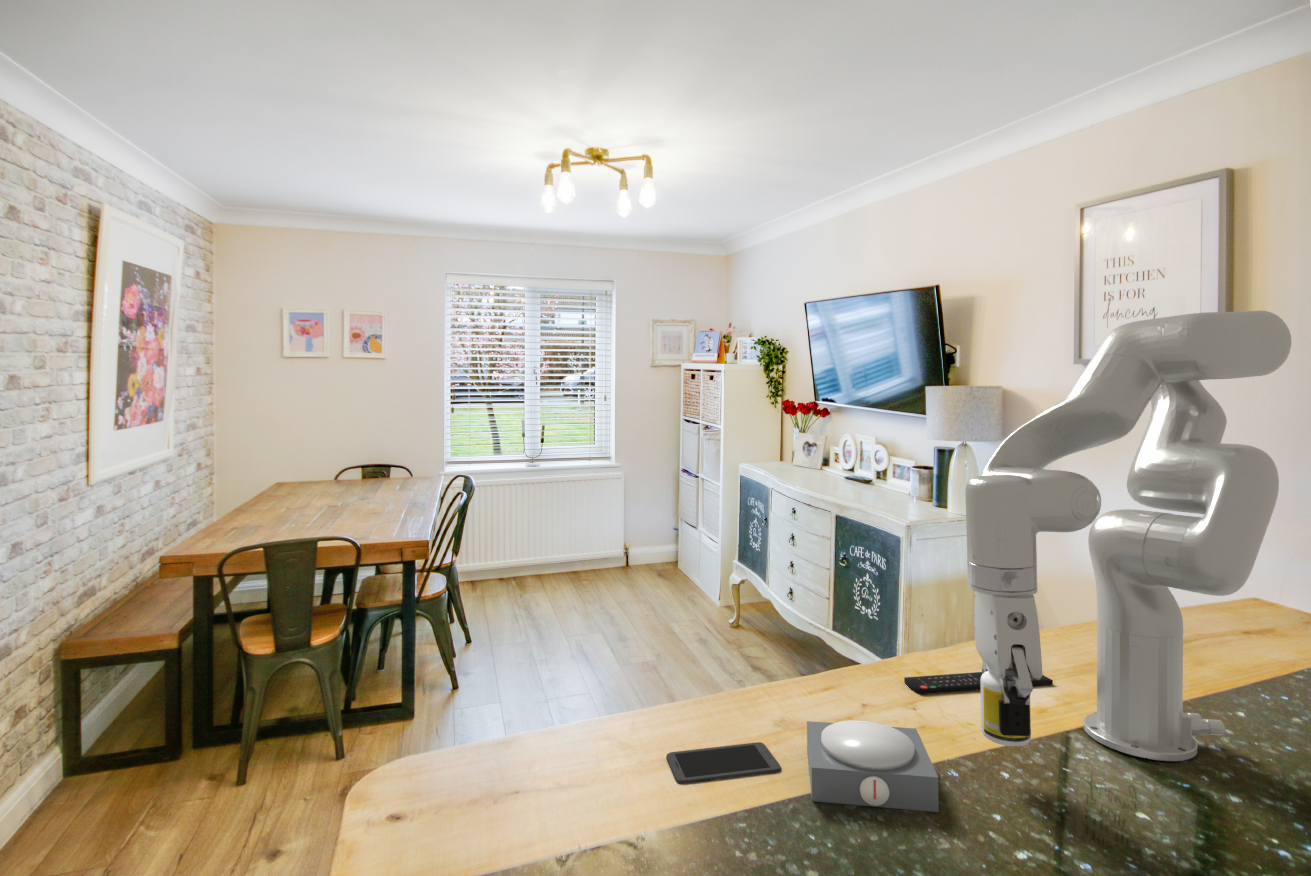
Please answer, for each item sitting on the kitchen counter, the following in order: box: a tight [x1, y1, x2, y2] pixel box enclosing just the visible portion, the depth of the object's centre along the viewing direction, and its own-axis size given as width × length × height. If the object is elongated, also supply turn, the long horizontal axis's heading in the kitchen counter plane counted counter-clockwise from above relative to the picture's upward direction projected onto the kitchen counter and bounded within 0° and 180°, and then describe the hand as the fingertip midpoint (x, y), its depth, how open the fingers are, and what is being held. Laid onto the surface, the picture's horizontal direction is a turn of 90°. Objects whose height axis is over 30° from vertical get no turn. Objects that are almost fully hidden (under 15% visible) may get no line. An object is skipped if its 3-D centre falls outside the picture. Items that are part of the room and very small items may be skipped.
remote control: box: [903, 671, 1054, 695], centre depth 110 cm, size 5×24×1 cm, turn 98°
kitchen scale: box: [806, 719, 940, 813], centre depth 81 cm, size 14×13×5 cm
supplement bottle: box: [980, 664, 1032, 747], centre depth 81 cm, size 5×5×10 cm
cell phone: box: [665, 741, 782, 785], centre depth 86 cm, size 7×14×1 cm, turn 101°
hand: (1005, 720), depth 81 cm, fingers closed on supplement bottle, 5 cm apart
